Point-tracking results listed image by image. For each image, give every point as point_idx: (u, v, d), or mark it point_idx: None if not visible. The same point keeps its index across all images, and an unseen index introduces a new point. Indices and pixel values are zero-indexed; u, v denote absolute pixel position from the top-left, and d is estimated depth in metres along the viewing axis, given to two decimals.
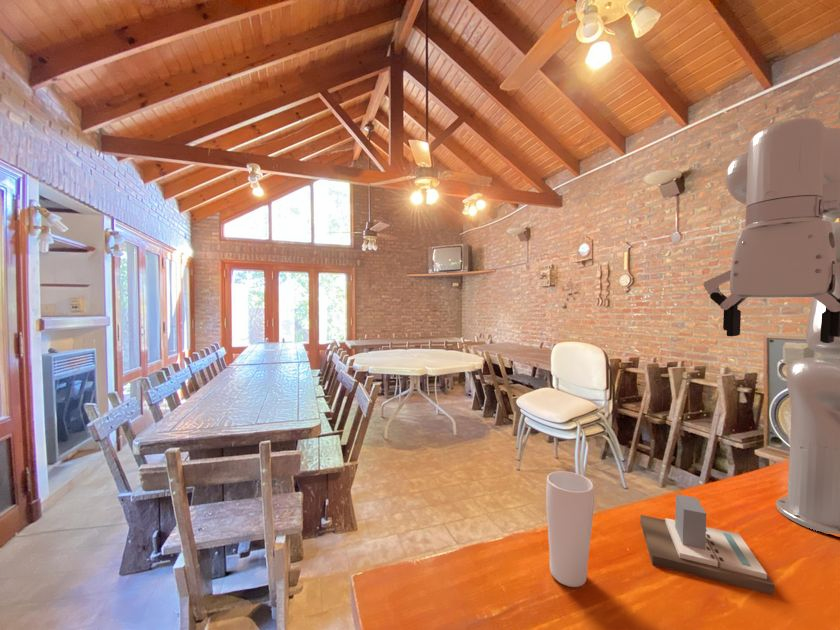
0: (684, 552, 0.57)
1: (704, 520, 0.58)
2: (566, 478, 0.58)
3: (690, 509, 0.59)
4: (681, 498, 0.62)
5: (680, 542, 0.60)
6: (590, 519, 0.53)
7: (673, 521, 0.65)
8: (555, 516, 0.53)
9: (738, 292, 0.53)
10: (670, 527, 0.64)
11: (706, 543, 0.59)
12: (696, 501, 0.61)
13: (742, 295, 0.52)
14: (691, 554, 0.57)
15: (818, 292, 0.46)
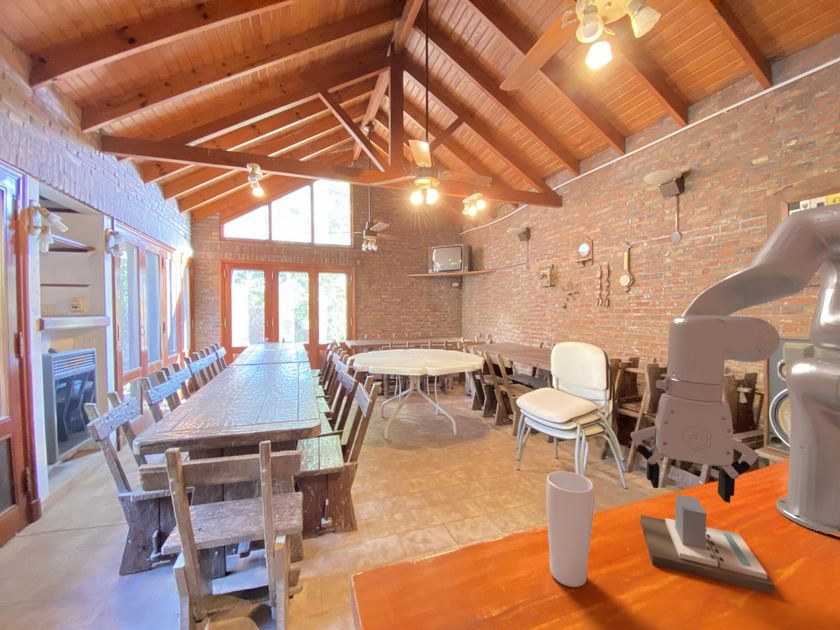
0: (684, 552, 0.57)
1: (704, 520, 0.58)
2: (566, 478, 0.58)
3: (690, 509, 0.59)
4: (681, 498, 0.62)
5: (680, 542, 0.60)
6: (590, 519, 0.53)
7: (673, 521, 0.65)
8: (555, 516, 0.53)
9: None
10: (670, 527, 0.64)
11: (706, 543, 0.59)
12: (696, 501, 0.61)
13: None
14: (691, 554, 0.57)
15: None
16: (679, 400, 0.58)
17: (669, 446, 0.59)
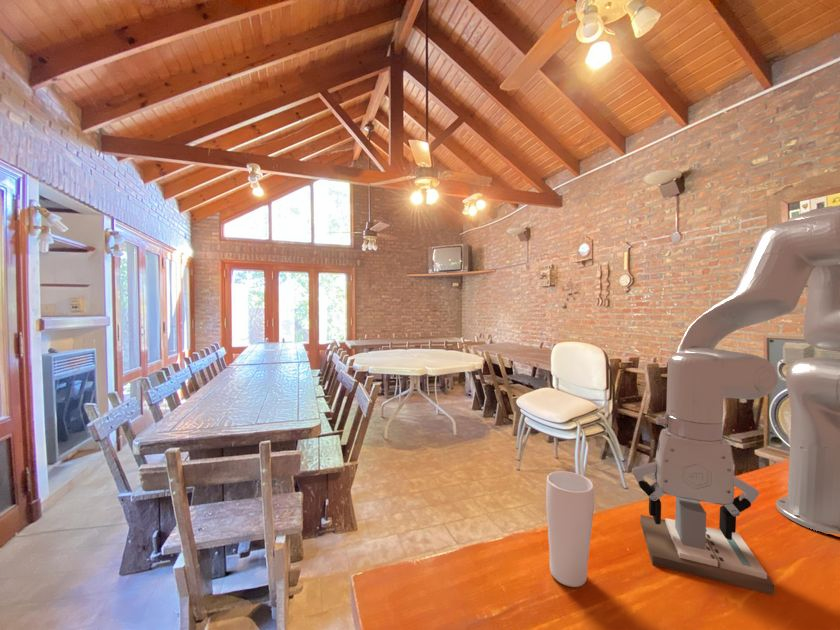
0: (684, 552, 0.57)
1: (704, 520, 0.58)
2: (566, 478, 0.58)
3: (690, 509, 0.59)
4: (681, 498, 0.62)
5: (680, 542, 0.60)
6: (590, 519, 0.53)
7: (673, 521, 0.65)
8: (555, 516, 0.53)
9: None
10: (670, 527, 0.64)
11: (706, 543, 0.59)
12: (696, 501, 0.61)
13: None
14: (691, 554, 0.57)
15: None
16: (679, 438, 0.59)
17: (670, 484, 0.59)
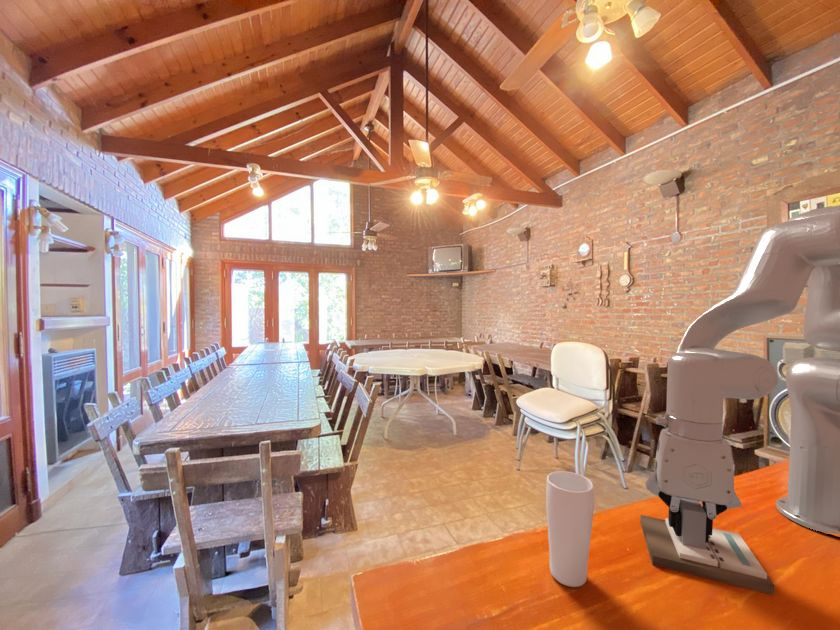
0: (684, 552, 0.57)
1: (704, 520, 0.58)
2: (566, 478, 0.58)
3: (690, 509, 0.59)
4: (681, 498, 0.62)
5: (680, 542, 0.60)
6: (590, 519, 0.53)
7: None
8: (555, 516, 0.53)
9: None
10: (670, 527, 0.64)
11: (706, 543, 0.59)
12: (696, 501, 0.61)
13: None
14: (691, 554, 0.57)
15: None
16: (679, 438, 0.59)
17: (670, 484, 0.59)
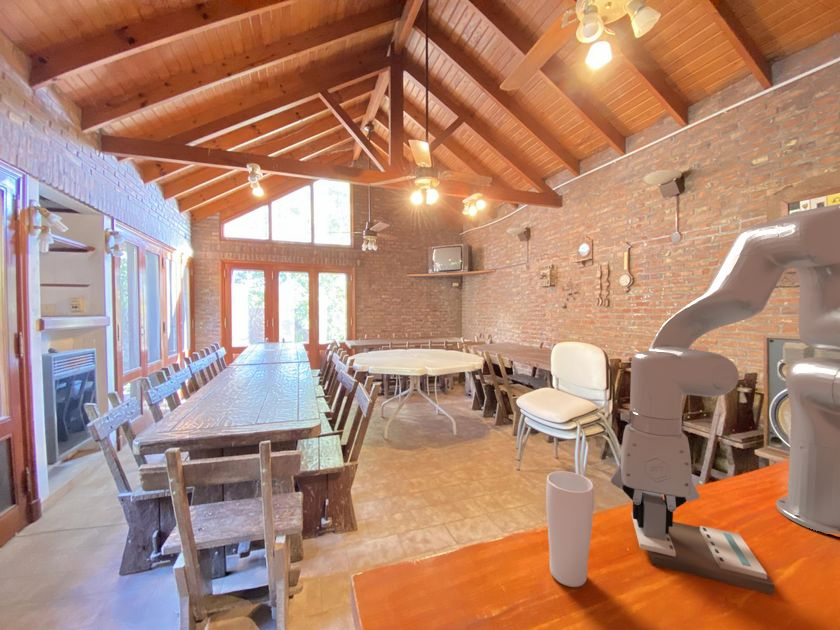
0: (644, 543, 0.59)
1: (664, 512, 0.60)
2: (566, 478, 0.58)
3: (651, 501, 0.61)
4: (644, 492, 0.64)
5: (642, 533, 0.62)
6: (590, 519, 0.53)
7: None
8: (555, 516, 0.53)
9: None
10: (635, 519, 0.66)
11: (667, 534, 0.62)
12: (659, 494, 0.63)
13: None
14: (651, 545, 0.59)
15: None
16: (640, 434, 0.61)
17: (632, 477, 0.61)
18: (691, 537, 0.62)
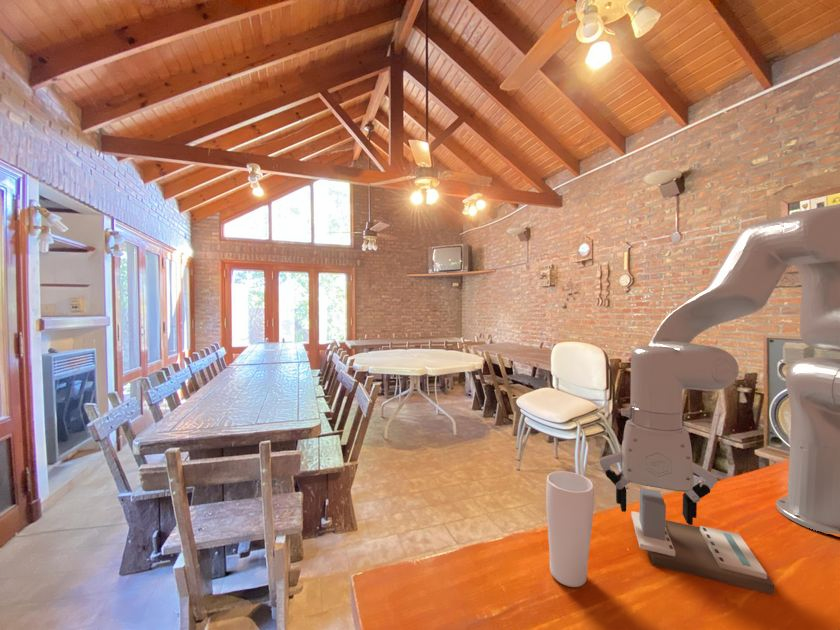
0: (644, 543, 0.59)
1: (664, 512, 0.60)
2: (566, 478, 0.58)
3: (651, 501, 0.61)
4: (644, 491, 0.64)
5: (642, 533, 0.62)
6: (590, 519, 0.53)
7: (638, 514, 0.68)
8: (555, 516, 0.53)
9: None
10: (634, 519, 0.66)
11: (667, 534, 0.62)
12: (658, 494, 0.63)
13: None
14: (651, 545, 0.59)
15: None
16: (641, 429, 0.61)
17: (634, 472, 0.62)
18: (691, 537, 0.62)
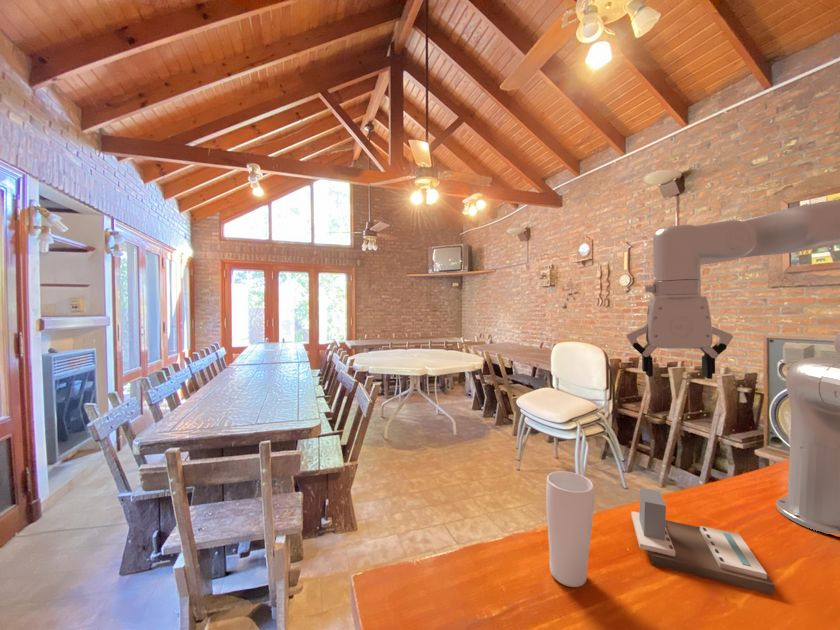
0: (644, 543, 0.59)
1: (664, 512, 0.60)
2: (566, 478, 0.58)
3: (651, 501, 0.61)
4: (644, 491, 0.64)
5: (642, 533, 0.62)
6: (590, 519, 0.53)
7: (638, 514, 0.68)
8: (555, 516, 0.53)
9: None
10: (634, 519, 0.66)
11: (667, 534, 0.62)
12: (658, 494, 0.63)
13: None
14: (651, 545, 0.59)
15: None
16: (665, 297, 0.69)
17: (659, 337, 0.70)
18: (691, 537, 0.62)
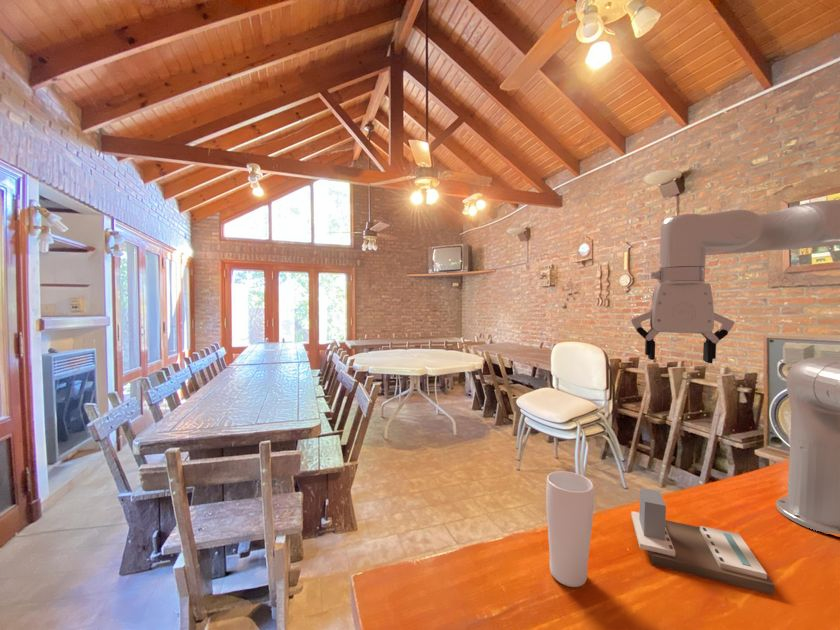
0: (644, 543, 0.59)
1: (664, 512, 0.60)
2: (566, 478, 0.58)
3: (651, 501, 0.61)
4: (644, 491, 0.64)
5: (642, 533, 0.62)
6: (590, 519, 0.53)
7: (638, 514, 0.68)
8: (555, 516, 0.53)
9: None
10: (634, 519, 0.66)
11: (667, 534, 0.62)
12: (658, 494, 0.63)
13: None
14: (651, 545, 0.59)
15: None
16: (669, 283, 0.72)
17: (662, 322, 0.72)
18: (691, 537, 0.62)
